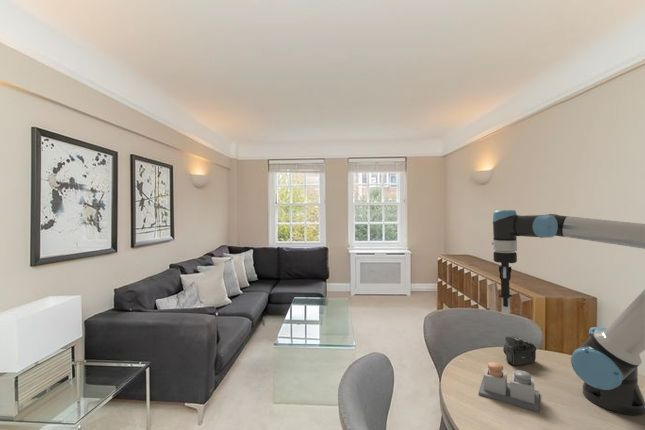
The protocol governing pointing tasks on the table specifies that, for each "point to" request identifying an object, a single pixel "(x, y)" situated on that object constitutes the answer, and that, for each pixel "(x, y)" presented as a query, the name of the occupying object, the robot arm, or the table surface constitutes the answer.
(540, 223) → the robot arm
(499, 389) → the panel
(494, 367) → the plug terracotta
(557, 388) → the table surface
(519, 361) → the camera
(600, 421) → the table surface
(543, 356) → the table surface
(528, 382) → the plug grey
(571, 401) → the table surface
